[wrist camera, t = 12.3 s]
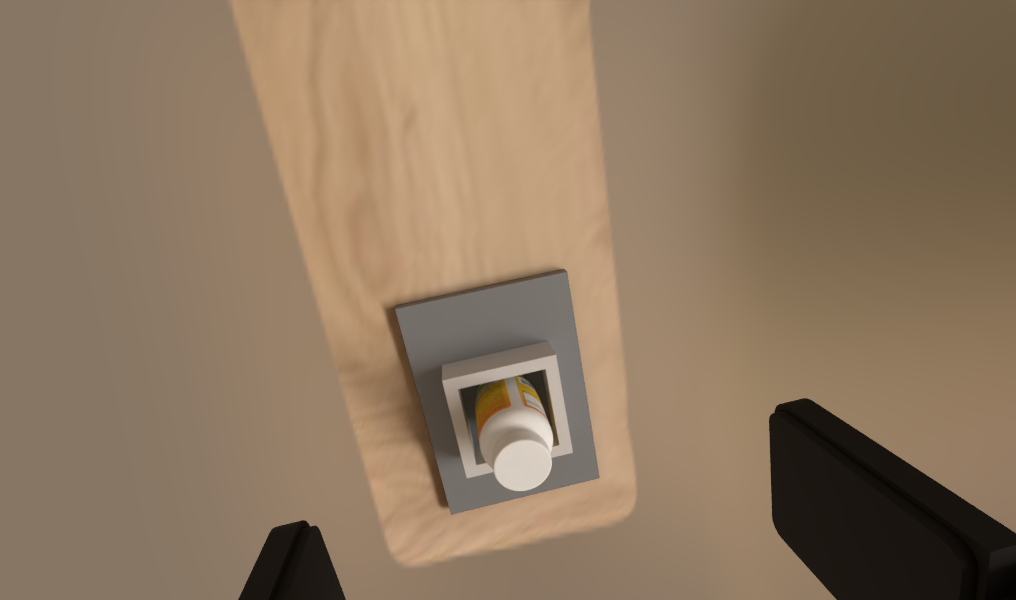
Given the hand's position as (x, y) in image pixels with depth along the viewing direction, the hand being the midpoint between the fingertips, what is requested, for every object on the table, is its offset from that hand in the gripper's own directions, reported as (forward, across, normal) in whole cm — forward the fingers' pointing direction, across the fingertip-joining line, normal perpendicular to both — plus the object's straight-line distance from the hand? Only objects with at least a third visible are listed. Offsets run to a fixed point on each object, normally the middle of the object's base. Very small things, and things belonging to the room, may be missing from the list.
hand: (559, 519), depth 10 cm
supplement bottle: (+30, 0, +13) cm, 32 cm away
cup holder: (+30, 0, +13) cm, 33 cm away
